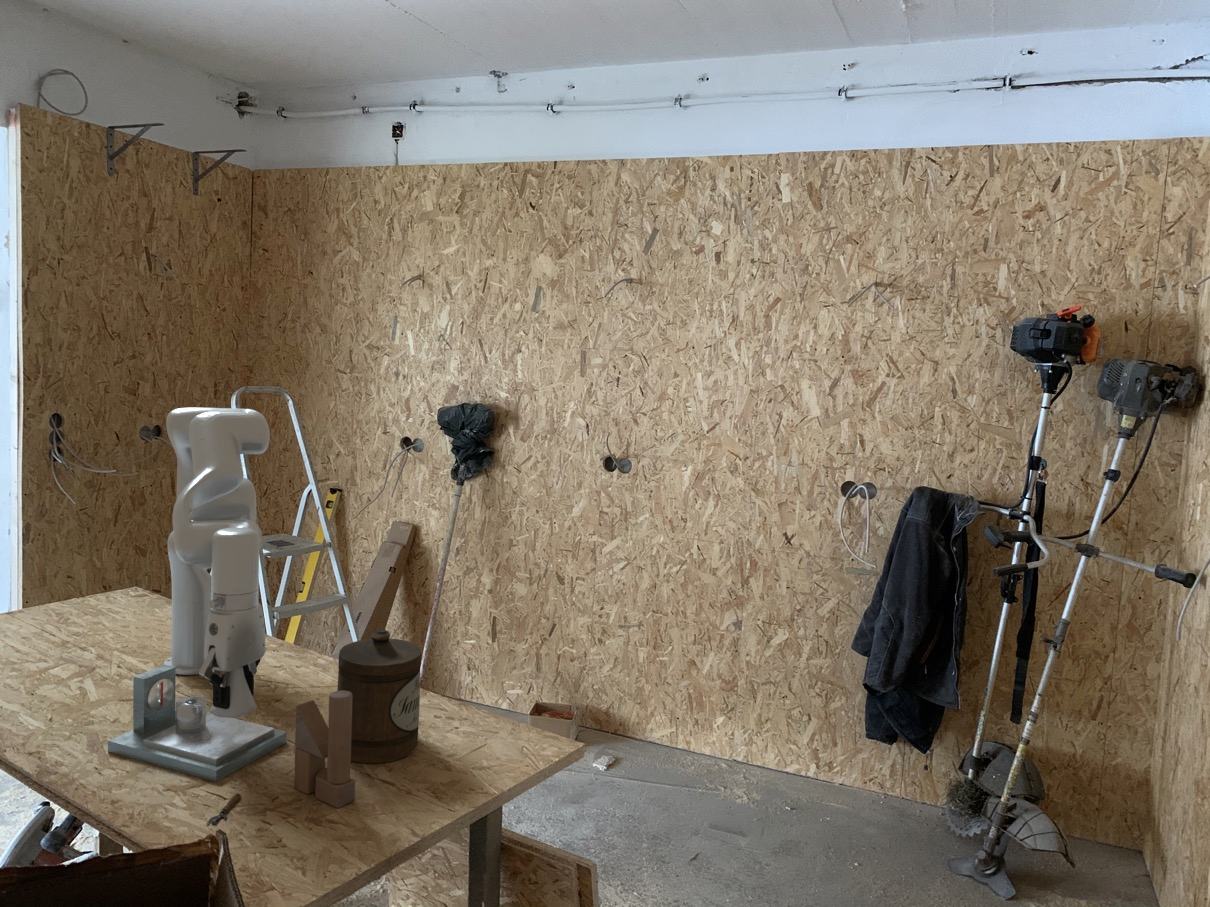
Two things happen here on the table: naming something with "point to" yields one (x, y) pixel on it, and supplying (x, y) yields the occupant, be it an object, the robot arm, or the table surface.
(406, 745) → the wooden container
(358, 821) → the table surface
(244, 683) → the flask
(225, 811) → the can opener
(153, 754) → the scale
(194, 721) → the silver jar with knob
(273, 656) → the table surface
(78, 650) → the table surface
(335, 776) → the brown wooden pieces
